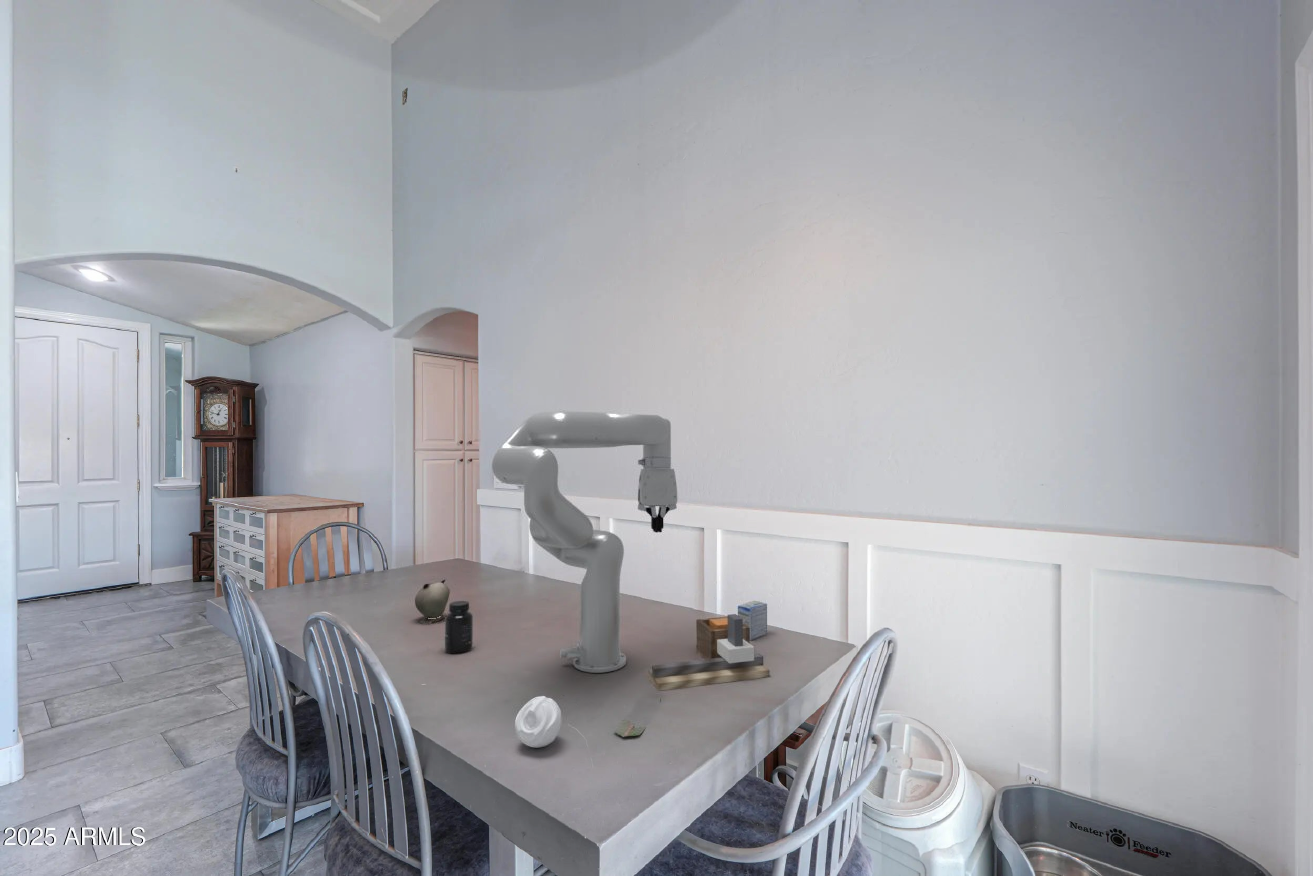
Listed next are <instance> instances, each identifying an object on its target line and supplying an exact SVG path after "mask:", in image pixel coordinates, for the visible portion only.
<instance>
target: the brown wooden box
mask: <svg viewBox="0 0 1313 876" xmlns="http://www.w3.org/2000/svg"><path fill="white" fill-rule="evenodd" d="M721 618H727V616H720V617H719V616H718V617H711V618H699V619H696V622H695V624H696V627H695V628H696V653H698V654H699V655H700V656H701V657H702V658H703V660H706V659H715V658H723V657H722V656H720V655H719V654H718V653H717V640H719V639H728V628H727V629H717V630H713V629H712V628H711V627H709V620H710V619H721ZM743 639H744V640H745V641H747V642H748V643H749V644H751V640H750V628H749V627H748V626H747V625H745V624H744V623H743Z"/></svg>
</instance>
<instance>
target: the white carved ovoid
mask: <svg viewBox="0 0 1313 876" xmlns="http://www.w3.org/2000/svg"><path fill="white" fill-rule="evenodd" d="M561 726H562V709H561V708H560V706H559V705H558V703H557V702H556V701H555V700H554V699H553V698H551V697H546V696H545V695H541V696H536V697H534V698H533V697H532V698H531V699H529V701H527V702H526V703H525V704H524V706H522V707H521V709H520V710H519V711H518V713H517V715H516V718H515V721H514V727H515V733H516V735H517V737H518V740H520V742H521V743H523V744H524V745H525V746H527V747H529V748H530V747H531V748H534V749H535V748H537V749H538V748H543V747H546V746H548V745H550V744H551V743H552V742H554V741H555V740H556V738H557V736H558V734H559V733H560V730H561Z"/></svg>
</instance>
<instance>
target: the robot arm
mask: <svg viewBox="0 0 1313 876" xmlns="http://www.w3.org/2000/svg"><path fill="white" fill-rule="evenodd" d="M671 428H672V425H671V420H669V419H668V418H664V417H662V416H660V415H658V414H657V415H656V414H635V413H633V414H632V413H614V412H597V411H596V412H593V411H589V412H588V411H568V410H566V411H565V410H559V411H557V410H555V411H546V412H537V413H534V414H532V415H530V416H529V417H528V418H527V419H526V420H524V421H523V422H522V423H521V425H519V427H517V428H516V430H515V431H514V432H512V434H511V435H510V436H509V437H508V438H507V440H506V441H505V442H504V443H503V444H502V445H501V446H500V447H499V448H498V449H497V451H496V453H495V454H494V455H493V458H492V463H491V469H492V473H493V475H494V477H495V478H496V479H497V480H499V482H501V483H504V484H507V485H517V486H520V485H521V486H524V487H523V488H524V489H523V490H524V491H523V502H524V503H523V505H524V511H525V513H526V515H527V516H528V518H529V519H530V520H529V532H530V536H531V537H532V540H533V541H534V542H535V544H536V545H538V546H540V547H541V549H543V550H545V551H546V552H547V553H548V554H550V555H552V556H553V557H554V558H556V559H558V560H559V562H561V563H563V564H565V565H568V566H571V567H574V568H578V569H579V568H580V569H585V570H586V572H585V574H584V577H582V581H581V584H580V587H579V642H576V643H577V644H576V645H577V646H573V648H560V650H559V653H560V654H559V657H560V658H566V660H573V661H572V662H573V667H575V668H576V669H577V670H578V671H582V672H585V673H594V674H595V673H596V674H598V673H599V674H600V673H608V672H613V671H617V670H619V669H621V668H623V667H624V666H626V664H627V656H626V655H625V654H624V653H623V652H621V647H620V646H621V635H620V634H621V629H620V628H621V626H620V625H621V622H620V621H621V620H620V618H621V614H620V611H621V607H620V606H621V602H620V601H621V599H620V592H621V591H620V588H621V587H620V581H621V572H622V566H623V560H624V556H625V549H624V548H625V546H624V544H623V541H622V540H621V538H620V537H619V536H618V535H617V534H615V533H613V532H610V531H607V530H600V529H594V527H593V523H592V521H591V520H590V518H589V517H588V516H587V515H586V513H584V511H581V510H580V509H579V508H578V507H577V506H576V505H574V504H573V503H572V502H571V501H570V500H568V499H567V497H565V496H564V495H563V494H562V493H561V492H560V489H559V485H558V482H559V481H558V478H559V464H558V460H557V459H558V458H557V457H556V455H555V454H554V453H553V451H551V450H550V449H595V448H597V449H598V448H600V449H601V448H615V447H622V446H643V447H642V455H643V456H642V458H641V459H638V460H637V465H639V466H642V467H643V468H640V475H639V478H638V489H637V501H638V502H637V503H638V505H637V510H639V511H641V512H646V513H647V514H648V515H649V516H650V518H651V519H650V520H651V521H650V524H651V525H650V527H651V529H652V531H653V533H656V534H657V533H662V532H663V529H664V517H666V515H667V514H668V513H669V511H674V510H676V509H677V503H678V485H677V478H676V471H675V468H672V457H671V455H672V445H671V444H672V443H671V442H672V440H671V439H672V437H671V436H672V432H671V431H672V429H671ZM656 507H658V512H657V508H656Z"/></svg>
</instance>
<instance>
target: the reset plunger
mask: <svg viewBox="0 0 1313 876" xmlns="http://www.w3.org/2000/svg"><path fill="white" fill-rule="evenodd" d="M709 627H711V628H712V629H713V630H717V629H727V628H728V624H727V618H721V619H710V620H709Z"/></svg>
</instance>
